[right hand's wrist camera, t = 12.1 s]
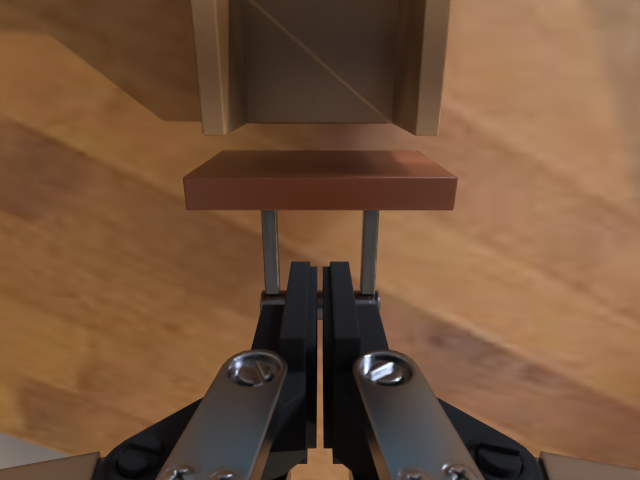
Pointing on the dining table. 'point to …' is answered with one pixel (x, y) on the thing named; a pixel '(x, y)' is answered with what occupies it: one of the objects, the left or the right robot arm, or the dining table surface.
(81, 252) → the dining table surface
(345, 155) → the drawer
